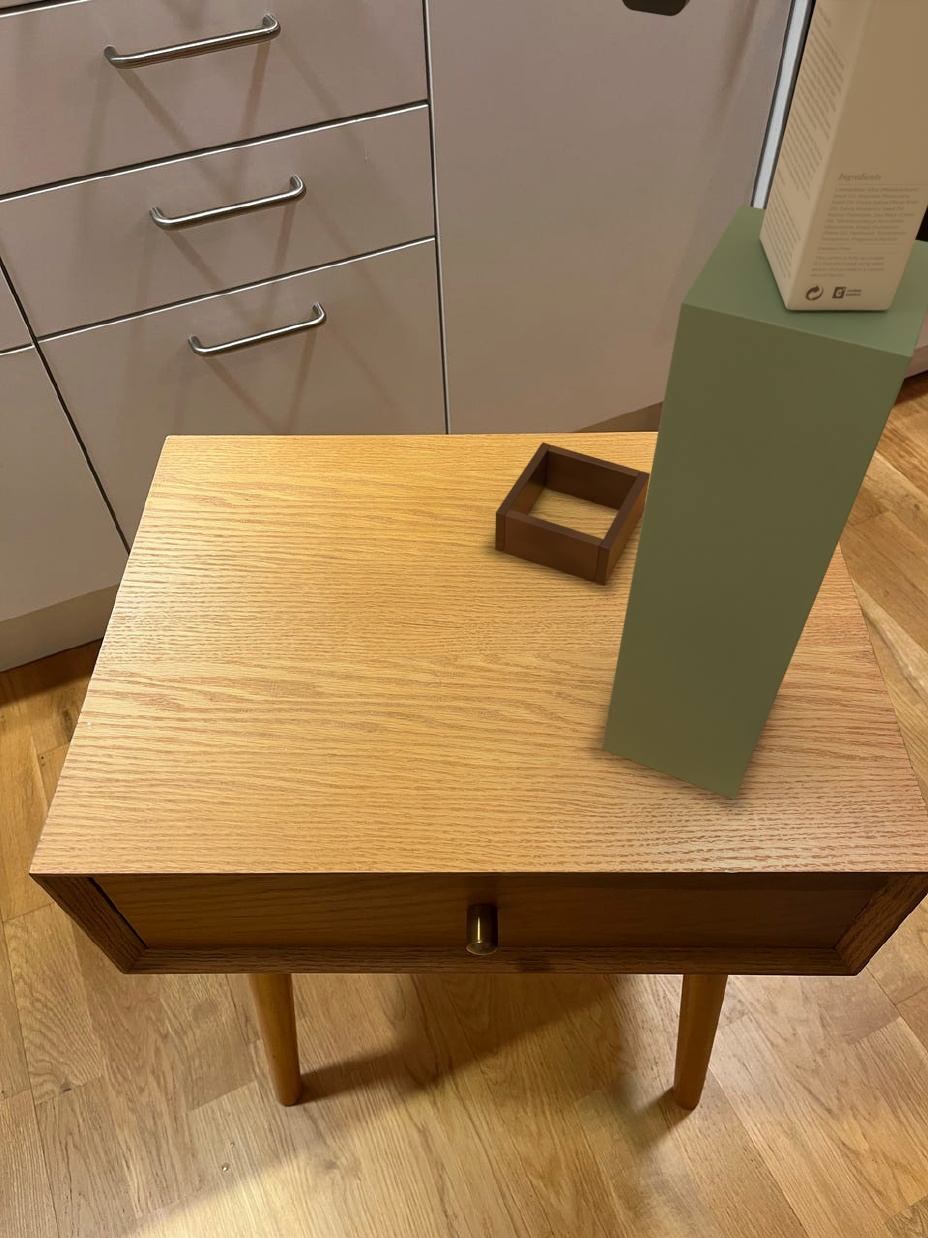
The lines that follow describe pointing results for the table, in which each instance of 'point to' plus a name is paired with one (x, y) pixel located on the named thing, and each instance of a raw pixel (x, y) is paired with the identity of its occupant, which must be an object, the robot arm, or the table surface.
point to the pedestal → (747, 502)
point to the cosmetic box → (852, 158)
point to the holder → (562, 543)
